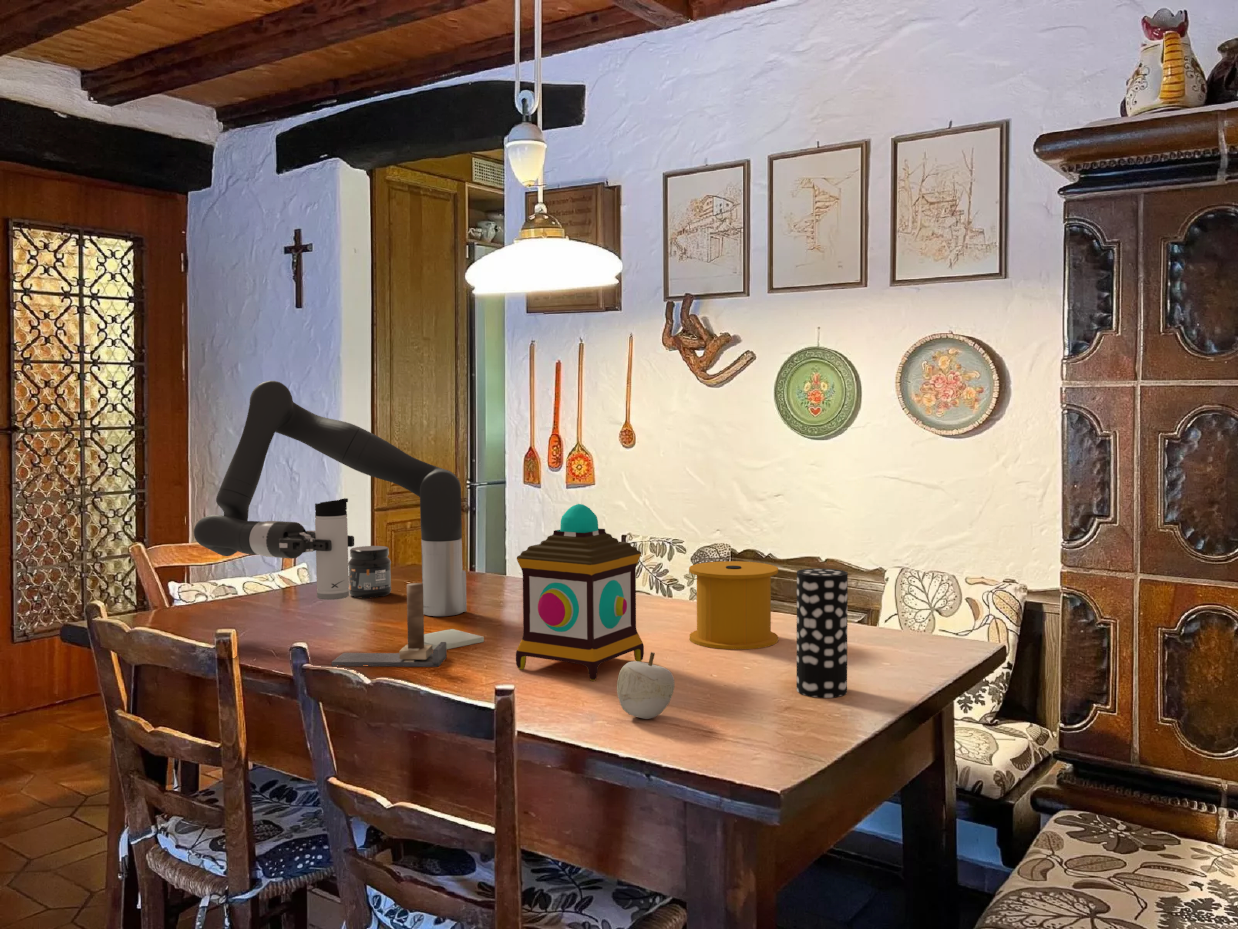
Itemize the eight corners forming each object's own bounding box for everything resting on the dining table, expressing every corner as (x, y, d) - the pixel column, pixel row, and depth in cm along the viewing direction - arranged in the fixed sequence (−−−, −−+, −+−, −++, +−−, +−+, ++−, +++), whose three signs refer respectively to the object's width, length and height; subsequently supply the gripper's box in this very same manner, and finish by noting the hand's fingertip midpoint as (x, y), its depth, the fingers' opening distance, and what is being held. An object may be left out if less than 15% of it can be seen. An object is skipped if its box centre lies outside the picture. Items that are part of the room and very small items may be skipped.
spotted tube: (791, 685, 179) (791, 568, 178) (838, 683, 180) (839, 567, 179) (803, 698, 171) (804, 576, 170) (853, 697, 172) (854, 575, 171)
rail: (331, 666, 195) (331, 650, 195) (343, 656, 202) (343, 641, 202) (438, 666, 194) (438, 650, 193) (446, 657, 201) (446, 642, 200)
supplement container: (358, 591, 274) (357, 545, 273) (397, 591, 272) (396, 545, 271) (342, 598, 263) (341, 550, 262) (382, 599, 262) (381, 551, 261)
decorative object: (608, 722, 159) (608, 657, 158) (628, 707, 167) (628, 645, 167) (664, 728, 156) (663, 662, 155) (681, 712, 164) (681, 649, 163)
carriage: (399, 659, 195) (398, 586, 194) (406, 652, 200) (405, 582, 199) (426, 659, 195) (424, 586, 194) (432, 653, 200) (431, 582, 199)
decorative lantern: (595, 685, 180) (594, 511, 179) (504, 670, 191) (502, 506, 189) (654, 660, 197) (653, 501, 195) (567, 648, 208) (566, 497, 206)
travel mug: (341, 600, 209) (339, 500, 207) (311, 599, 210) (308, 499, 209) (355, 594, 215) (353, 497, 213) (326, 593, 216) (323, 496, 215)
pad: (451, 633, 222) (451, 628, 222) (483, 641, 214) (483, 636, 214) (407, 642, 214) (407, 637, 214) (439, 650, 206) (439, 645, 206)
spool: (678, 646, 209) (678, 571, 208) (702, 627, 226) (702, 558, 225) (767, 652, 203) (767, 575, 202) (785, 633, 220) (786, 562, 219)
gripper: (251, 525, 211) (317, 529, 204) (301, 517, 224) (364, 520, 217) (252, 562, 211) (318, 567, 204) (302, 552, 224) (365, 557, 217)
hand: (341, 543), depth 211 cm, fingers closed on travel mug, 6 cm apart
